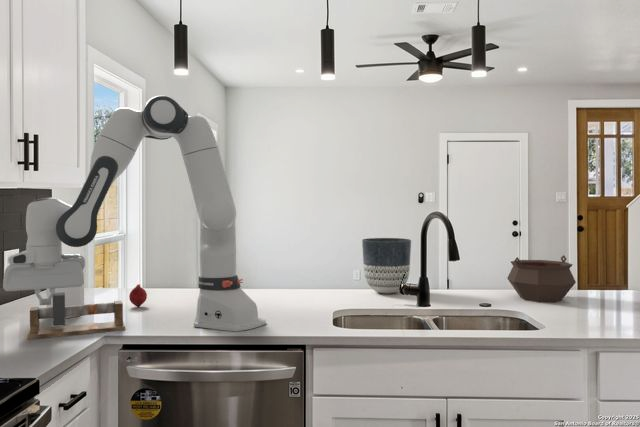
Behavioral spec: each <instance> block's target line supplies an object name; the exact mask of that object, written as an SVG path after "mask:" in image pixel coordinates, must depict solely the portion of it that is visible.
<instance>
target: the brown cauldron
mask: <svg viewBox="0 0 640 427" xmlns="http://www.w3.org/2000/svg"><path fill="white" fill-rule="evenodd" d="M560 260H561V261H560ZM560 260H559V261H558V260H549V259H548V260H547V259H519V257H518V256H517V257H516V258H515V259H514V260H513V261H510V263H511V265H512V267H511V270H510V272H509V274H508V275H507V277H506V278H507V280H508V281H509V283H510V285H511V286H512V287H513V289H514V291H515V292H516V294H517V295H518V296H519V298H521V300H524V301H527V302H528V301H529V302H534V303H558V302H561V301H562V300H564V298H565V296H567V294H569V292H570V290H572V288H573V287H574V285H575V284H577V281H576V280H575V277H574V275H573V273H572V271H571V268H572V266H574V264H572V263H569V262H567V261H566V260H567V257H566V256H565V255H564V254H563V255H562V256H561V257H560Z"/></svg>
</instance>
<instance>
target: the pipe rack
mask: <svg viewBox="0 0 640 427" xmlns="http://www.w3.org/2000/svg"><path fill="white" fill-rule="evenodd" d="M123 306H124V304H123V301H122V300H114V301H113V302H105V303H104V302H103V303H89V304H84V305H74V306H65V317H70V316H77V317H81V316H92V315H104V314H113V315H114V318H113V320H114V321H108V322H107V321H106V322H91V323H85V324H74V325H60V326H53V327H52V326H51V327H50V326H49V327H40V320H43V319H53V307H48V308H47V307H39V306H31V307H30V308H29V330H28V333H27V340H33V339H34V340H35V339H43V338H54V337H64V336H65V337H66V336H74V335H75V336H78V335H86V334H96V333H97V334H98V333H107V332H108V333H109V332H118V331H125V330H126V325H125V322H124V317H123V316H124V314H123V313H124V311H123V310H124V309H123Z"/></svg>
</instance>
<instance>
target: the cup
mask: <svg viewBox="0 0 640 427" xmlns="http://www.w3.org/2000/svg"><path fill="white" fill-rule="evenodd" d="M84 269H85V267H84V268H83V275H84V276H85V270H84ZM45 290H46V298H48V297H49V296H50V294H51V292H49V289H45ZM62 292H65V306H74V305H85V283H84V284H83V285H82V286H80V287H65V288H55V293H62ZM48 307H53V296H52V298H51V305H46V308H48ZM77 317H78V316H70V317H65V319H70V318H77Z"/></svg>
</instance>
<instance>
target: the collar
mask: <svg viewBox="0 0 640 427" xmlns="http://www.w3.org/2000/svg"><path fill="white" fill-rule="evenodd" d="M52 326H53V327H60V326H66V318H65V292H62V293H54V295H53V318H52Z"/></svg>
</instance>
